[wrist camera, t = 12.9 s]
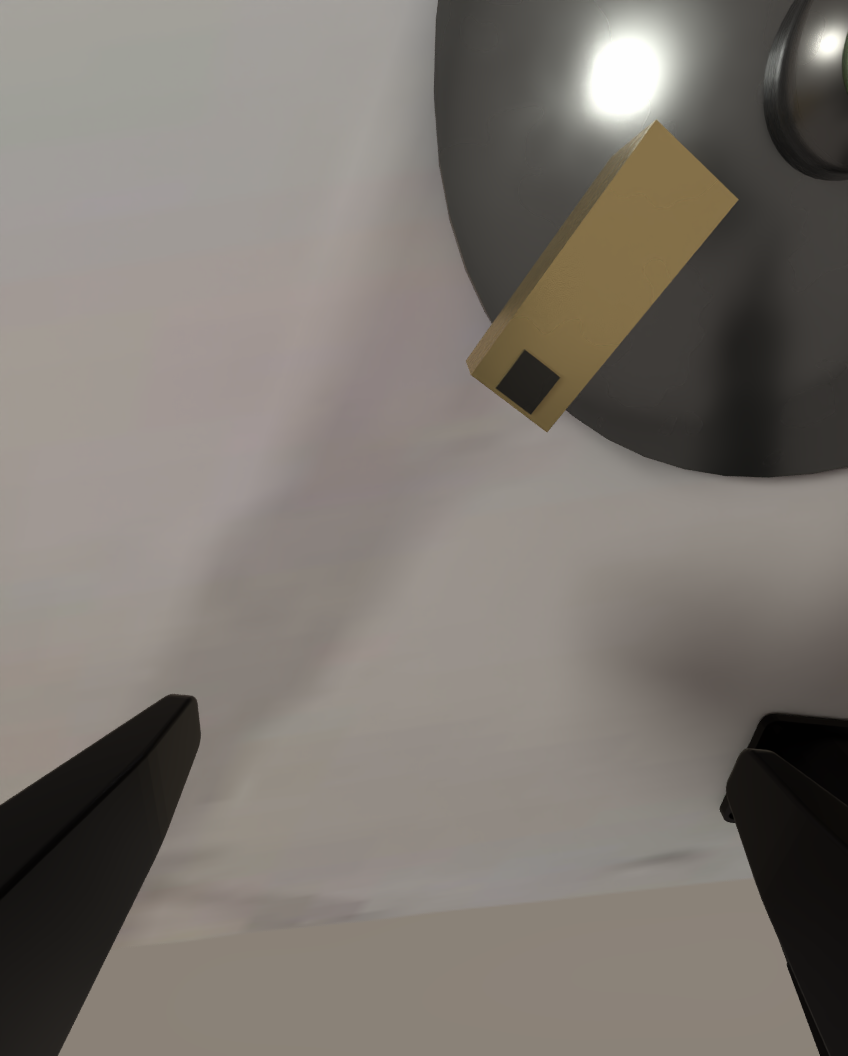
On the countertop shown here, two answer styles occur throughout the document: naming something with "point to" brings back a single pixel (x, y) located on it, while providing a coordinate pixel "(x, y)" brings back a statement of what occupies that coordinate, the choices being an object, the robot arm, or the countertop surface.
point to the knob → (600, 274)
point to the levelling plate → (728, 252)
